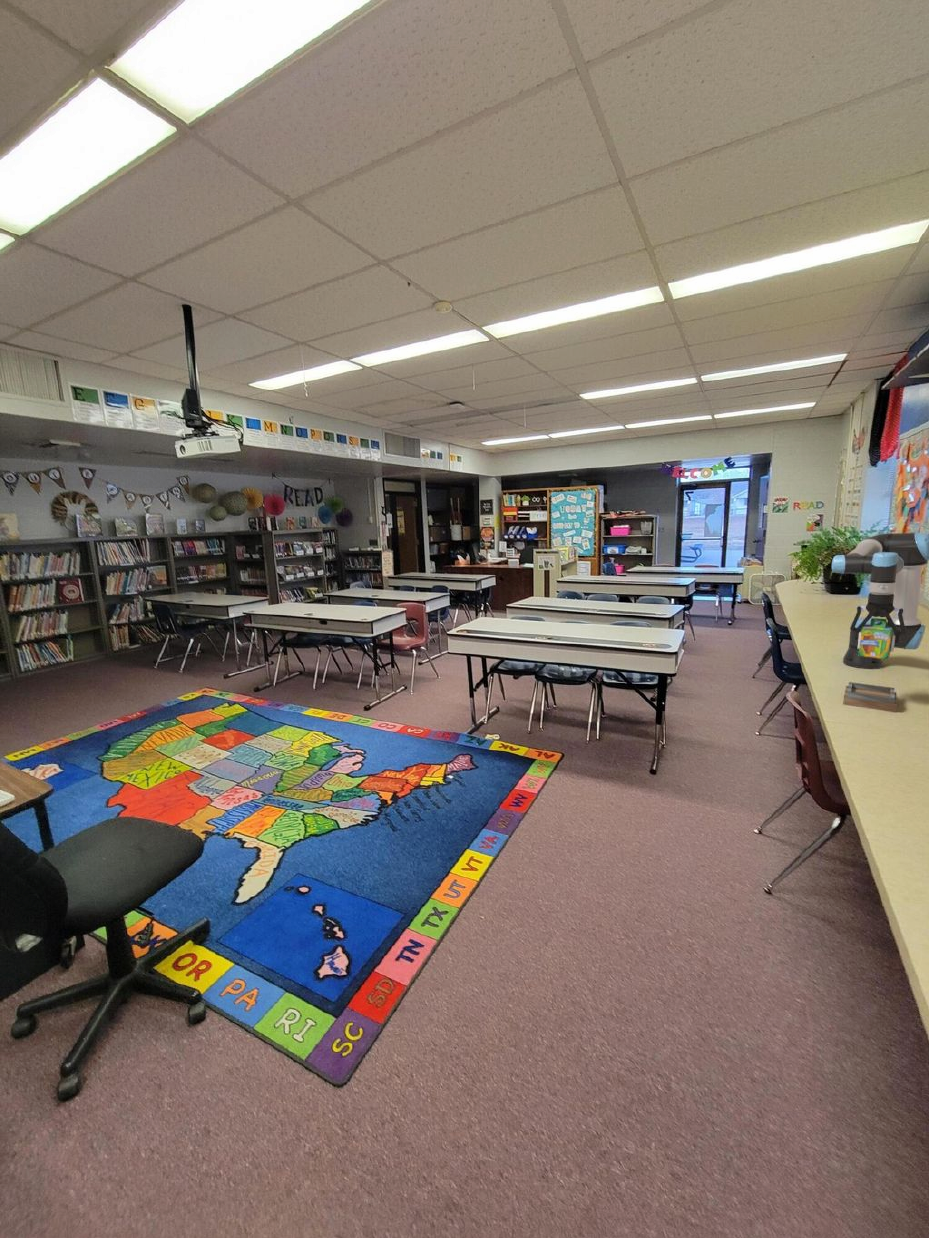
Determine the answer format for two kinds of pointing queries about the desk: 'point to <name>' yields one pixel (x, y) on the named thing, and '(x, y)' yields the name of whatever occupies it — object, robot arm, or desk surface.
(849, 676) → the desk surface
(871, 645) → the chalk box
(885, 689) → the square frame
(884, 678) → the desk surface
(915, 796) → the desk surface
